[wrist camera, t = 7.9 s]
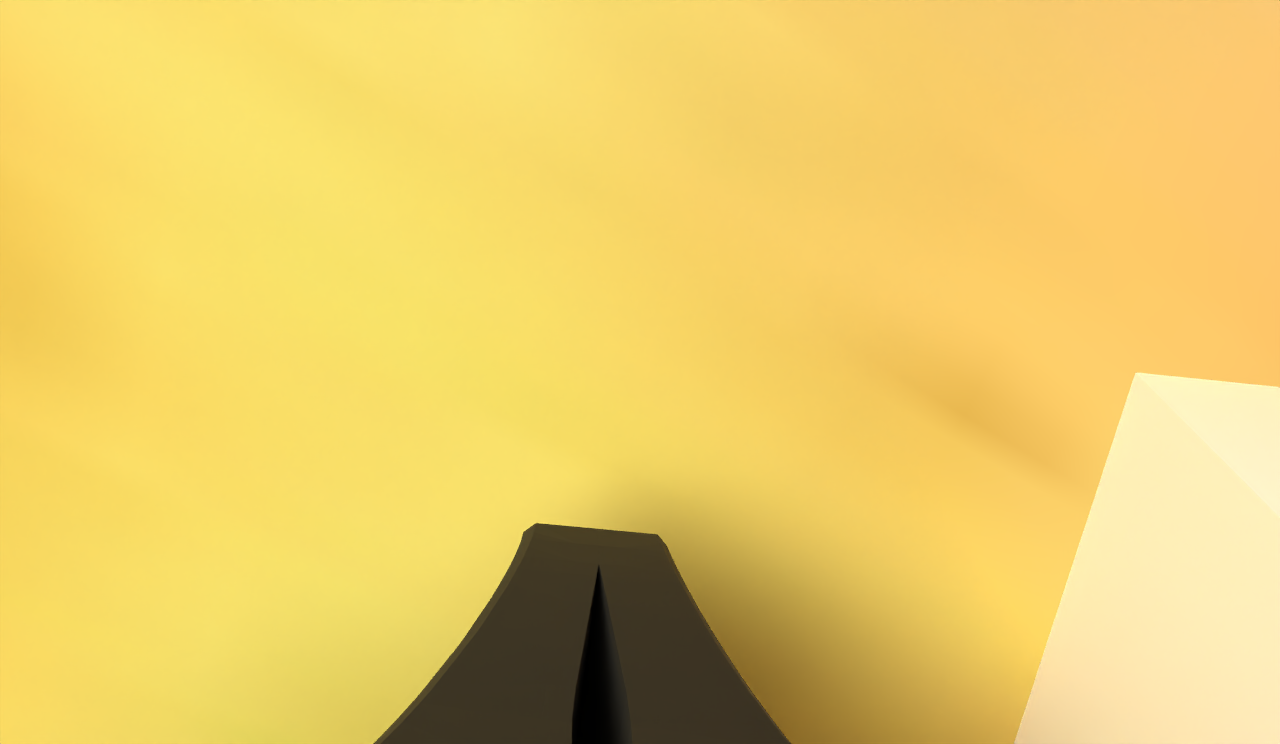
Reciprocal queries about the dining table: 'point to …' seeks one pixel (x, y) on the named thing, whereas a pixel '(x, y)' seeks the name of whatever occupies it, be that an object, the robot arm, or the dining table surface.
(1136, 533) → the cream carton
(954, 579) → the dining table surface
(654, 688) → the robot arm
